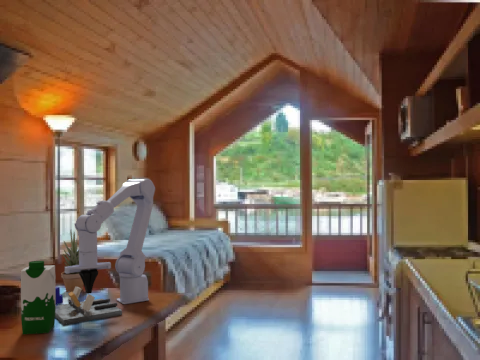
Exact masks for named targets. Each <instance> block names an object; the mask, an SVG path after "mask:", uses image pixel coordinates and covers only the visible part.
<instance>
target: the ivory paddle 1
mask: <svg viewBox="0 0 480 360" xmlns="http://www.w3.org/2000/svg"><path fill="white" fill-rule="evenodd" d="M81 290H82V291H83V289H81V288H79V287H76V286H75V289H74V291H73V293H74V294H75V295H76V297H77V299H78V300H79V297H80V294H81V292H82V291H81ZM69 299H71V298H70V297H69Z"/></svg>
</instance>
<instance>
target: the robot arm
mask: <svg viewBox="0 0 480 360" xmlns="http://www.w3.org/2000/svg"><path fill="white" fill-rule="evenodd" d="M155 192H156V187H155V184H154V182H153V181H152V180H151V179H150V178H140V179H139V178H135V179H134V178H129V179H127V180H126V181H125V182H123V183H122V185H121V187H120V188H119V189H118V190H117V191H115V193H114V194H112V195H111V196H110V197H109V198H108V199H107V200H104V199H103V200H98V201H97V202H96V205H95V206H93V207H92V208H91V209H88V210H87V211H86V214H81V215H80V216H78V218H77V219H76V221H75V223H74V228H75V231H77V236H78V250H79V265H74V266H66V267H65V266H64V272H65V273H66V274H68V273H73V272H79V275H80V277H81V279H82V281H83V288H84V292H85V294H87V295H88V294H89V295H90V294H92V292H93V288H94V285H95V281H96V279H97V277H98V275H99V270H105V269H106V270H107V269H108V270H109V269H112V263H111V262H110V261H108V262H107V261H105V262H104V261H103V262H98V231H100V229H101V226H102V224H103V223H104V222H105V221H106V220H107V219H108V218H109V217H111V216H112V214H113V215H114V211H115V208H116V207H117V206H119V205H120V204H122V203H123V202H124V201H125V200H126V199H128V198H130V199H131V200H132V201H133V203H135V205H136V209H135V210H136V211H135V214H134V218H133V222H132V225H131V230H130V233H129V237H128V240H127V244H126V247H125V248H124V249H123V250H121V251H120V254H119V255H118V256H119V257H118V258H117V259H116V260H115V264H114V267H115V270H116V273H118V276H119V297H118V298H115V300H116V301H118V302H119V303H121V304H123V305H129V304H134V303H140V302H145V301H146V302H148V301H149V300H150V299H149V281H148V277H147V275H146V274H143V273H144V272H145V268H146V257H147V256H146V255H145V253H144V252H143V251H142V250H143V246H144V242H145V239H146V235H147V231H148V227H149V223H150V218H151V214H152V212H153V211H152V210H153V208H154V207H153V206H154V196H155Z"/></svg>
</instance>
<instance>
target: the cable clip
mask: <svg viewBox="0 0 480 360" xmlns="http://www.w3.org/2000/svg"><path fill="white" fill-rule="evenodd" d="M55 293H56V305H62V303H64V295H63V294H60V293H61V292H60V287H59V286H55Z"/></svg>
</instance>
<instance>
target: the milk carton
mask: <svg viewBox="0 0 480 360" xmlns="http://www.w3.org/2000/svg"><path fill="white" fill-rule="evenodd" d="M55 287H56V265H45V261H44V260H31V261H29V262H28V266H27V267H24V268H23V269H21V270H20V317H21V318H20V320H21V331H22V335H35V334H49V333H50V332H51V330H52V329H53V328H54V327H55V322H56V320H55V319H56V317H55V309H56V293H55Z"/></svg>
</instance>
